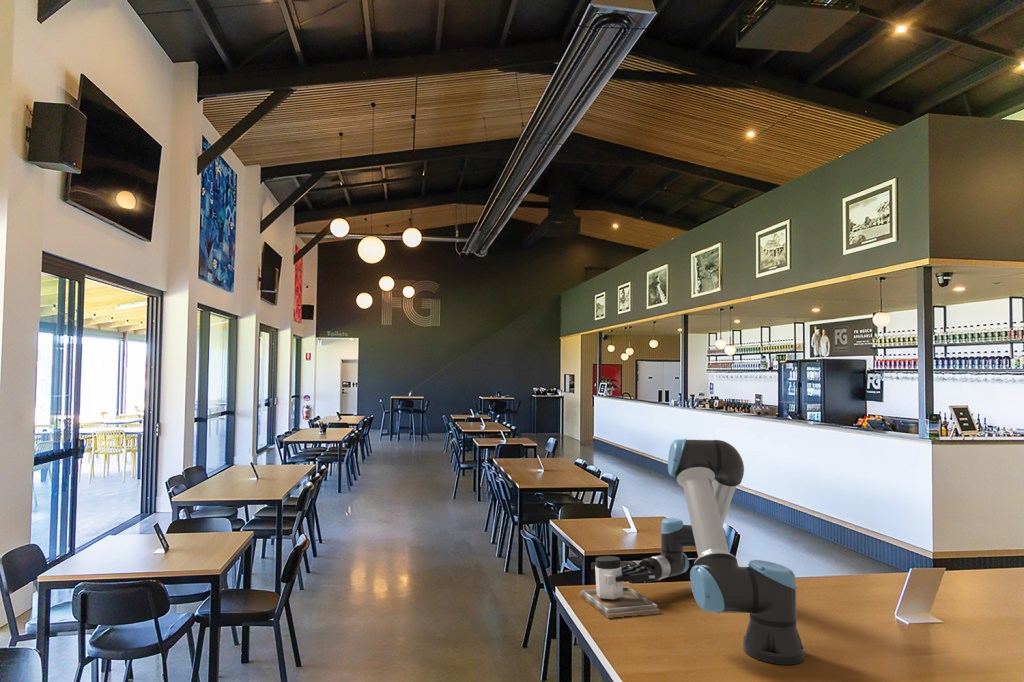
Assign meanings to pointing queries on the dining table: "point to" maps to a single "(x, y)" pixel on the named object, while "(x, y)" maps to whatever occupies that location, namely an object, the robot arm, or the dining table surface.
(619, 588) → the jar
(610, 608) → the tray
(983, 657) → the dining table surface
